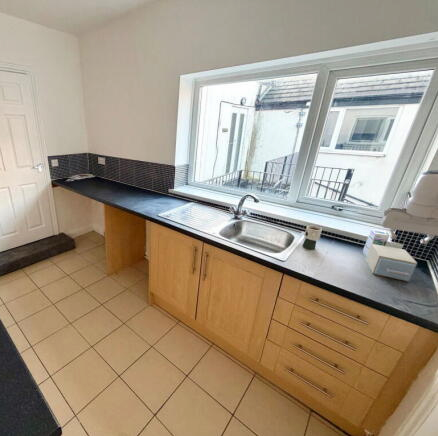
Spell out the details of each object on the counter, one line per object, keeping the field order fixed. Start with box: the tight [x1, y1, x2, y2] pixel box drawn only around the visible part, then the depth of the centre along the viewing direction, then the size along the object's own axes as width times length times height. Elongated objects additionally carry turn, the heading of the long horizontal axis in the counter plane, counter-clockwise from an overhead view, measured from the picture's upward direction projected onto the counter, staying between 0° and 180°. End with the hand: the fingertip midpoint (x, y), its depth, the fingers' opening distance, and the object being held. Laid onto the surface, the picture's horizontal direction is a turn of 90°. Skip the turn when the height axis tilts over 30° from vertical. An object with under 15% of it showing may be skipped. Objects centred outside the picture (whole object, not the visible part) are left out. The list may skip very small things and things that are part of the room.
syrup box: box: [362, 229, 390, 258], centre depth 128 cm, size 6×6×14 cm
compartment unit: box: [365, 244, 418, 283], centre depth 116 cm, size 15×13×10 cm
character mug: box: [302, 224, 323, 251], centre depth 136 cm, size 11×7×13 cm, turn 148°
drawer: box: [375, 258, 416, 282], centre depth 113 cm, size 18×11×8 cm, turn 150°
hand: (407, 241), depth 104 cm, fingers open, 8 cm apart
